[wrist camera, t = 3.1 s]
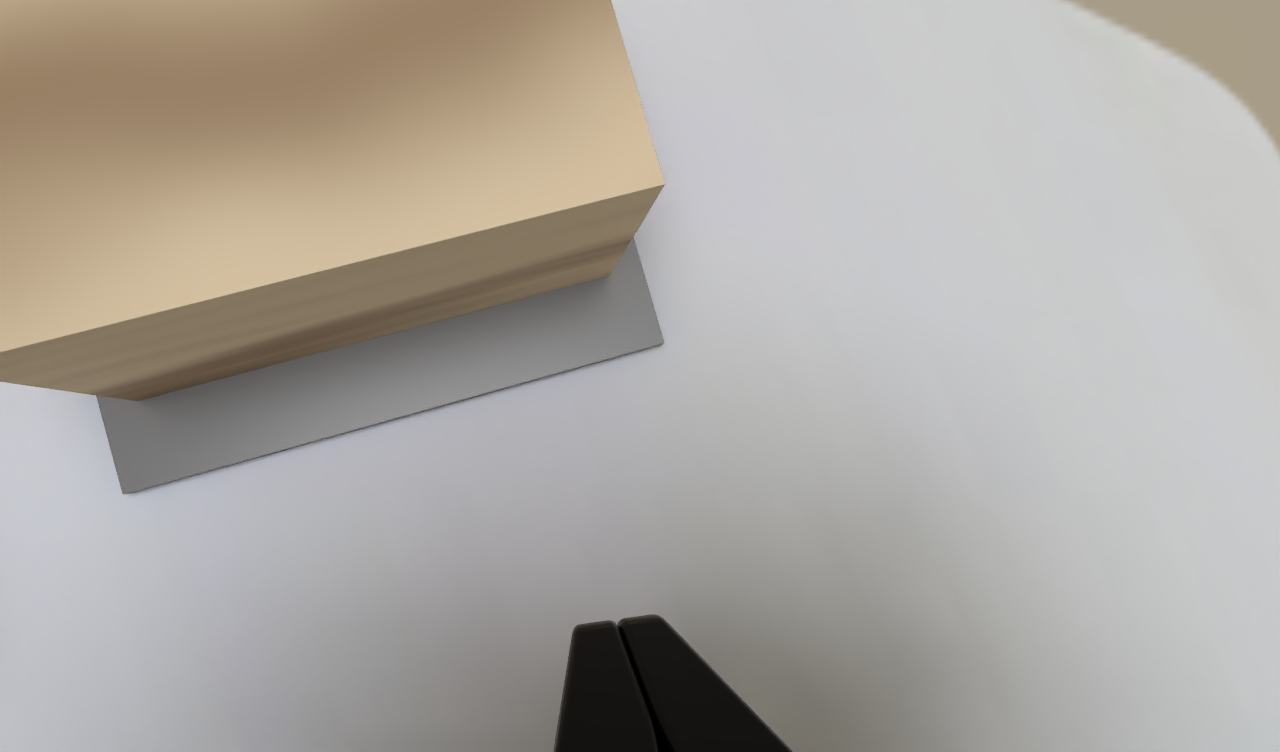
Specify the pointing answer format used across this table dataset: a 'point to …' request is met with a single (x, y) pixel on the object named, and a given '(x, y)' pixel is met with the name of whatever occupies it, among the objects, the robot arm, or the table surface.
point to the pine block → (297, 176)
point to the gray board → (379, 379)
